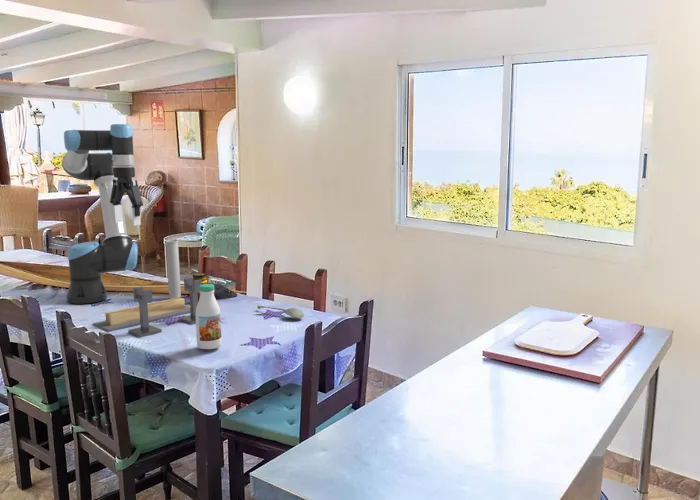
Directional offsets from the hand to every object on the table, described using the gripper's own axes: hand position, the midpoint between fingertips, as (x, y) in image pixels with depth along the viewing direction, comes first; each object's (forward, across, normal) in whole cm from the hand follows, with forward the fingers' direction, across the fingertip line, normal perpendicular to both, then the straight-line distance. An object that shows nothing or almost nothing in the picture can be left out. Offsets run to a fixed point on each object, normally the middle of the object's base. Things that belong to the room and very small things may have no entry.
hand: (127, 223), depth 227 cm
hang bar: (+34, +10, 0) cm, 35 cm away
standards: (+35, +26, 0) cm, 43 cm away
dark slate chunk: (+35, -2, +39) cm, 53 cm away
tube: (+35, -6, +22) cm, 42 cm away
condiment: (+35, +6, +26) cm, 44 cm away
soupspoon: (+34, +43, +34) cm, 64 cm away
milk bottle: (+35, +55, -4) cm, 65 cm away
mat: (+35, +10, 0) cm, 36 cm away
